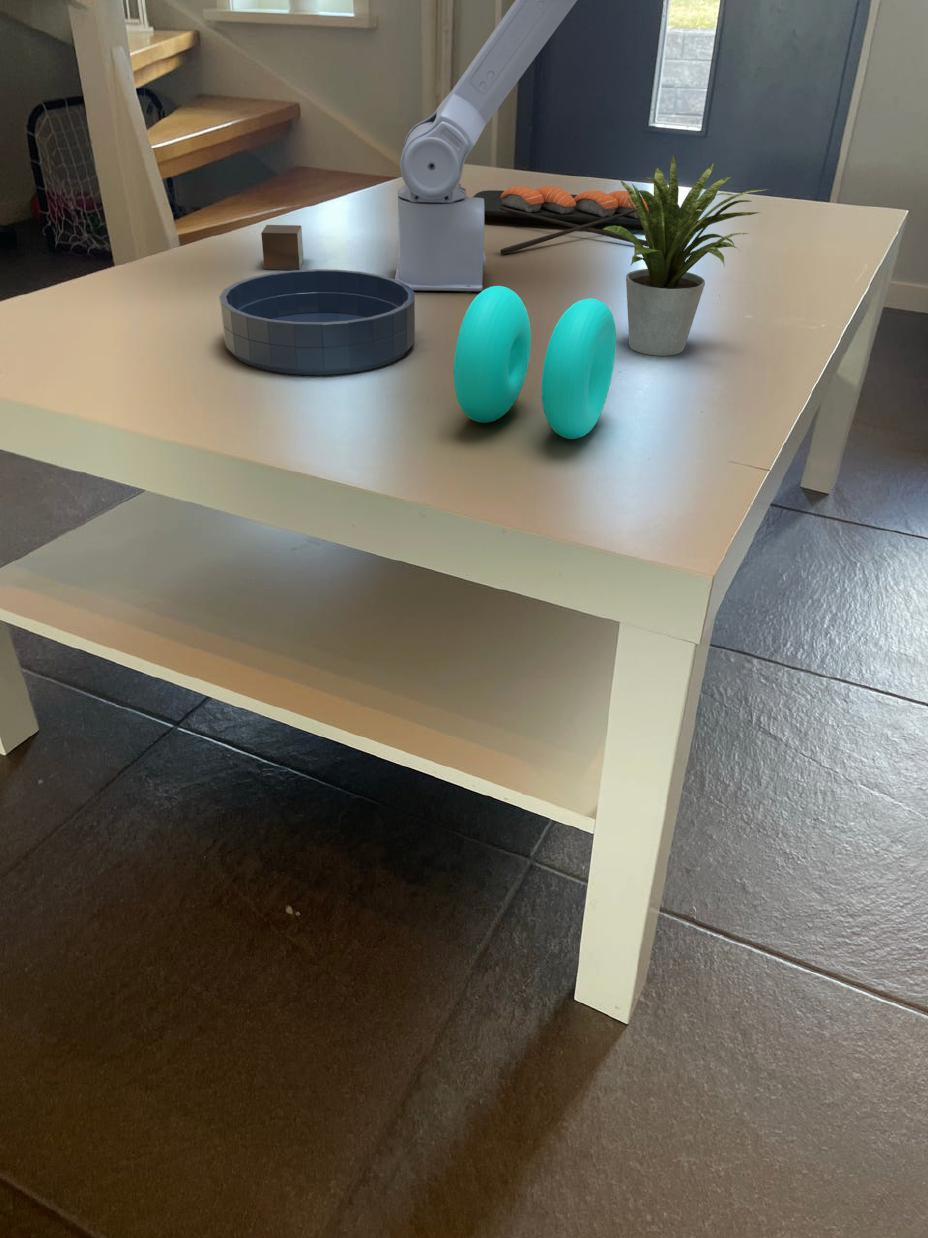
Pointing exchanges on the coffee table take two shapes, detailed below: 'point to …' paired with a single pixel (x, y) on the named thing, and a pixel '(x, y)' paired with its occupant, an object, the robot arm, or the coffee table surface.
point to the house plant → (670, 260)
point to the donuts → (501, 355)
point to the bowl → (318, 321)
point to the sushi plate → (562, 211)
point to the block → (282, 247)
